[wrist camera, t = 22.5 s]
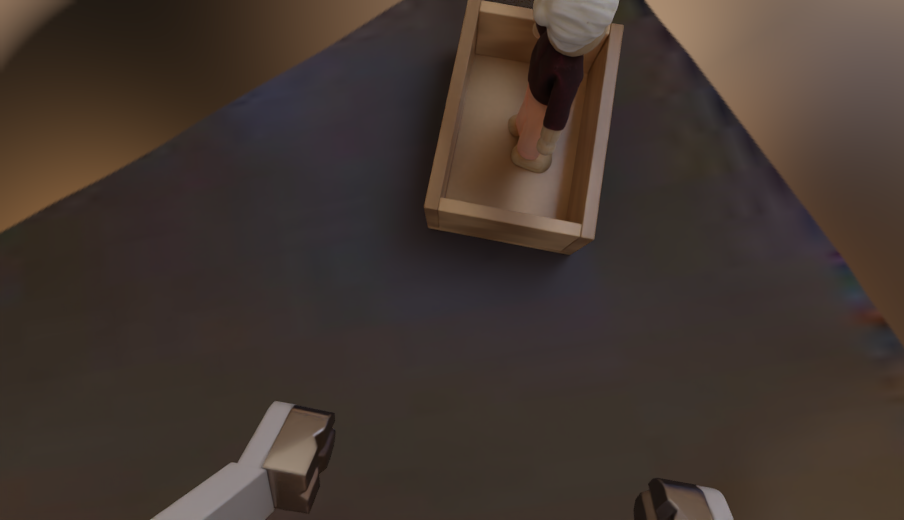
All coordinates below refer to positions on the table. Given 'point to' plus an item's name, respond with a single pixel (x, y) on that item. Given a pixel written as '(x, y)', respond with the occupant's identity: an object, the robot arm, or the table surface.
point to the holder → (490, 142)
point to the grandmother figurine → (555, 74)
